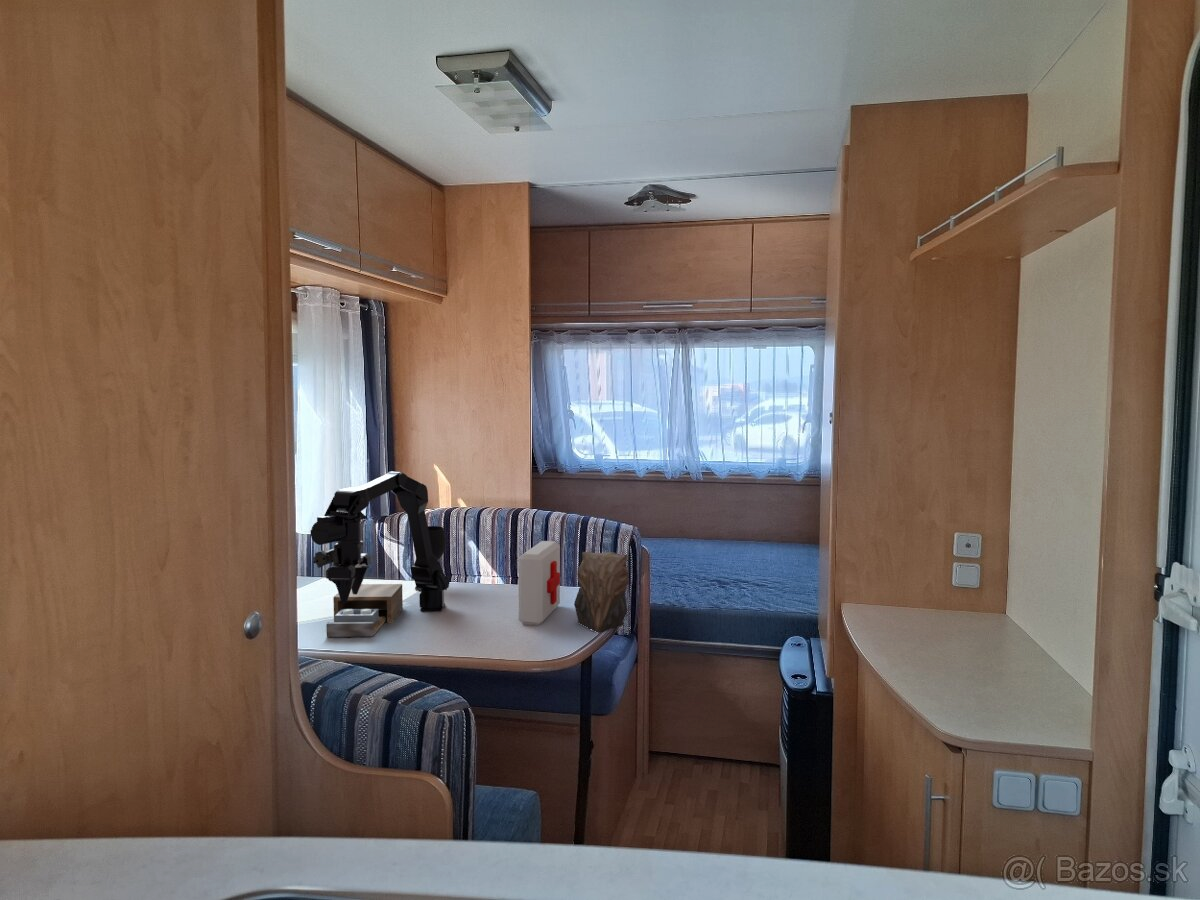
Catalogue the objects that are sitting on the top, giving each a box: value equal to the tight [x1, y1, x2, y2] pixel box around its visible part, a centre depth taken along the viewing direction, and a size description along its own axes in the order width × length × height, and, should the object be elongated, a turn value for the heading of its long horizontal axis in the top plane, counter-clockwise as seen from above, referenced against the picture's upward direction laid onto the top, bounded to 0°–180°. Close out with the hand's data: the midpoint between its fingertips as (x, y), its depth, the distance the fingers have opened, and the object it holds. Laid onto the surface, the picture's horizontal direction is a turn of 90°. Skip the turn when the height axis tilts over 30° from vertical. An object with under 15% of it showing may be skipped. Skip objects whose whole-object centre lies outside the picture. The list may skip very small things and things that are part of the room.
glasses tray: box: [335, 609, 380, 626], centre depth 206 cm, size 10×6×4 cm, turn 92°
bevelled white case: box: [518, 540, 561, 626], centre depth 219 cm, size 21×8×20 cm, turn 168°
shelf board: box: [325, 616, 387, 638], centre depth 206 cm, size 12×14×4 cm
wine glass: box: [414, 525, 447, 592], centre depth 249 cm, size 10×10×20 cm
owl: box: [573, 551, 629, 634], centre depth 211 cm, size 13×13×20 cm
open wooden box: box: [332, 583, 404, 624], centre depth 218 cm, size 16×14×8 cm
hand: (349, 598), depth 194 cm, fingers open, 9 cm apart
